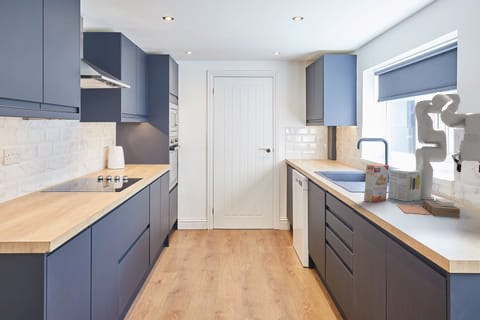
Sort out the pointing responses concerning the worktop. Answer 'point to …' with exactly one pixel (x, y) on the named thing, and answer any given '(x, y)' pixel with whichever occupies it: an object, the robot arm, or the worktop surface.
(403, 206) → the rubber mat
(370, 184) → the cracker box
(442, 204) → the ceramic tile
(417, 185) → the supplement box
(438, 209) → the walnut block
